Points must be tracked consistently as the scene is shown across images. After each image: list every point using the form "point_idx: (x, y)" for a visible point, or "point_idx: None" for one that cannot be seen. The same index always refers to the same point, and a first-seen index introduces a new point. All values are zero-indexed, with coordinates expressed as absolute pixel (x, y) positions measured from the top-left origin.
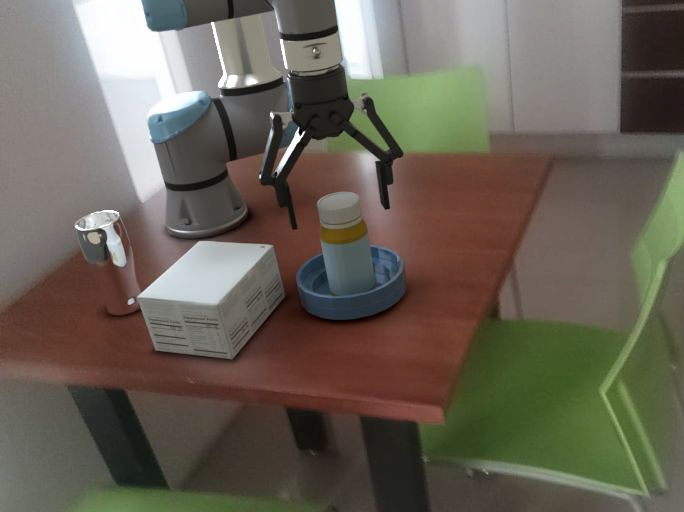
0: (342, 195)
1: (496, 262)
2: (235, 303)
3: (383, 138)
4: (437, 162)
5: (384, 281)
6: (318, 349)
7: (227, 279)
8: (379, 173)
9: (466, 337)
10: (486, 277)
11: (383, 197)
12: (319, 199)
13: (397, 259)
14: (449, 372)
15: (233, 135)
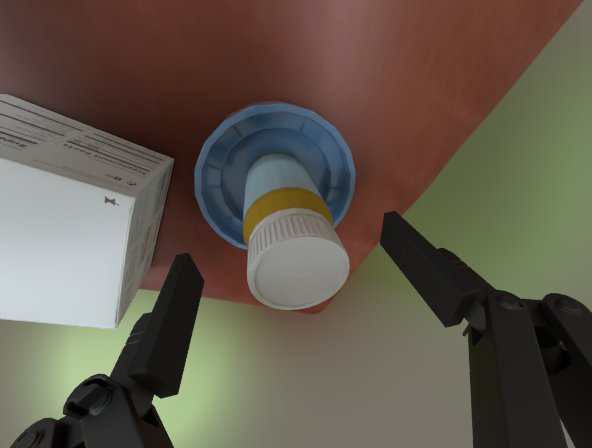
0: (314, 251)
1: (453, 148)
2: (131, 289)
3: (567, 430)
4: None
5: (318, 167)
6: (238, 263)
7: (95, 289)
8: (433, 300)
9: (360, 264)
10: (424, 179)
11: (394, 261)
12: (253, 265)
13: (348, 176)
14: (335, 294)
15: None
